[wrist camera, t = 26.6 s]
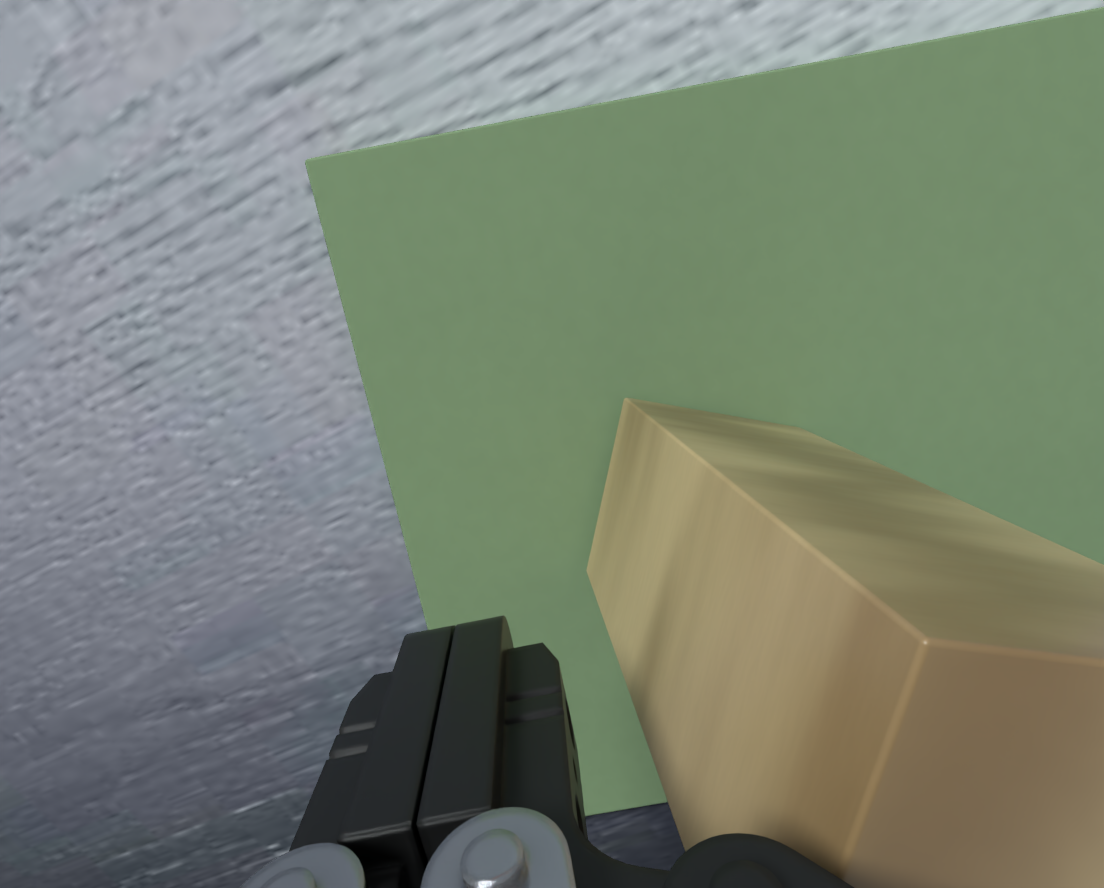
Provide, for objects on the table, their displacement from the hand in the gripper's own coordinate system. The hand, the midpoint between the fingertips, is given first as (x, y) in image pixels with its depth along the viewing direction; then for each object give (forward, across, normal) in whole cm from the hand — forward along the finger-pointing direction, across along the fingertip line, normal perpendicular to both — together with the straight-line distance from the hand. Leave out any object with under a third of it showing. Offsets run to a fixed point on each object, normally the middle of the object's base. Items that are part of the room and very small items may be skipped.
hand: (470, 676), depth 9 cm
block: (+6, -5, 0) cm, 7 cm away
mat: (+6, -8, 0) cm, 10 cm away
